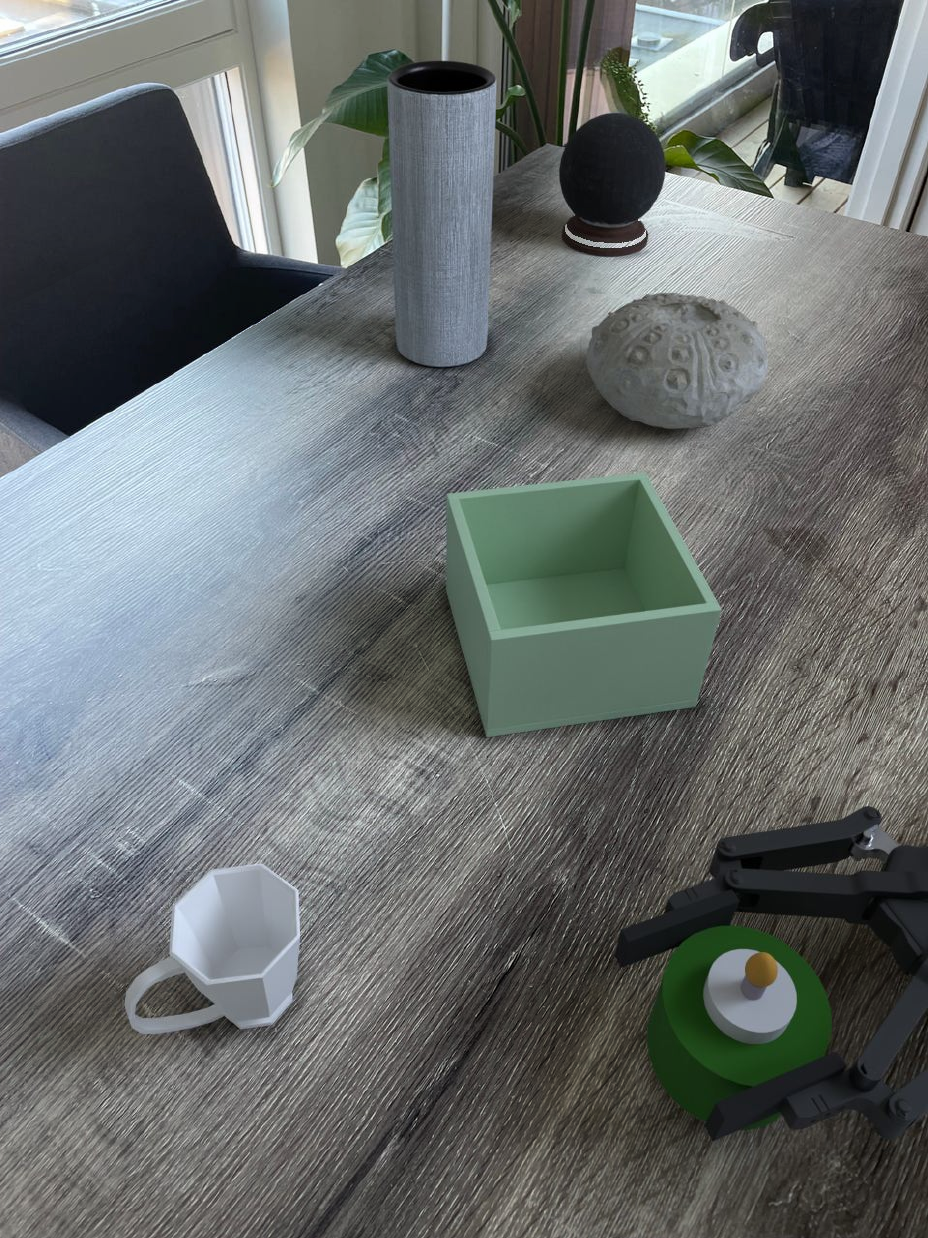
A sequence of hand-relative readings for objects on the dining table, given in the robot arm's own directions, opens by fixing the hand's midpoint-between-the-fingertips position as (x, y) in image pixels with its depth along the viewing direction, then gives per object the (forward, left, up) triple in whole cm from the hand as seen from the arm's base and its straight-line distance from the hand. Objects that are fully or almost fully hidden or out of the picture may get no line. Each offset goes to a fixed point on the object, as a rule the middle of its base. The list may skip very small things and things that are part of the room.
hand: (664, 1030), depth 48 cm
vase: (+80, -4, -8) cm, 80 cm away
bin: (+33, -5, -8) cm, 34 cm away
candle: (+1, -5, -6) cm, 8 cm away
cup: (+9, +21, -8) cm, 24 cm away
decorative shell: (+65, -25, -8) cm, 70 cm away
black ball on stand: (+104, -30, -8) cm, 108 cm away
